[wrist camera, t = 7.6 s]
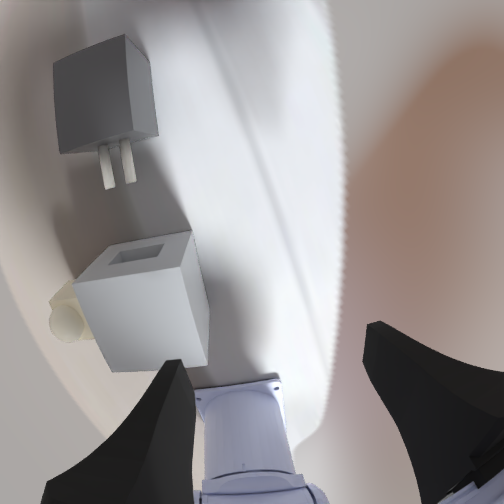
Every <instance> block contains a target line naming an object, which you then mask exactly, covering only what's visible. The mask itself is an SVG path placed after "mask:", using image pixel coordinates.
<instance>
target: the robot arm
mask: <svg viewBox="0 0 504 504" xmlns="http://www.w3.org/2000/svg"><path fill="white" fill-rule="evenodd" d="M362 362H363V364H364V367H365V369H366V372H367V374H368V376H369V378H370V381H371V383H372V384H373V386H374V388H375V390H376V391H377V393H378V395H379V396H380V398H381V400H382V401H383V403H384V405H385V406H386V408H387V409H388V411H389V413H390V415H391V416H392V418H393V419H394V421H395V423H396V425H397V427H398V429H399V432H400V434H401V436H402V439H403V441H404V443H405V446H406V449H407V451H408V454H409V457H410V460H411V462H412V466H413V469H414V473H415V476H416V479H417V484H418V488H419V492H420V497H421V503H422V504H504V372H499V371H493V370H489V369H484V368H481V367H477V366H473V365H470V364H467V363H464V362H461V361H458V360H455V359H453V358H450V357H448V356H446V355H443V354H441V353H439V352H437V351H435V350H432V349H431V348H429V347H427V346H425V345H423V344H421V343H419V342H417V341H416V340H414V339H412V338H410V337H409V336H407V335H405V334H403V333H401V332H400V331H398V330H396V329H395V328H393V327H391V326H389V325H388V324H385V323H384V322H382V321H377V322H374V323H370V324H367V329H366V338H365V347H364V354H363V361H362ZM196 406H197V408H198V411H199V413H200V415H201V417H202V419H203V422H204V424H205V430H204V464H205V480H202V492H201V490H194V491H193V483H192V458H193V445H194V434H195V422H196ZM41 504H329V501H328V499H327V497H326V495H325V493H324V492H323V491H322V490H321V489H320V488H318V487H317V486H316V485H314V484H312V483H307V484H305V481H304V477H303V474H296V473H295V468H294V464H293V460H292V456H291V452H290V448H289V444H288V439H287V435H286V422H285V412H284V402H283V393H282V383H281V380H280V379H270V380H265V381H259V382H253V383H246V384H240V385H232V386H225V387H217V388H208V389H198V390H193V388H192V385H191V383H190V380H189V378H188V375H187V372H186V370H185V367H184V365H183V362H182V359H174V360H166V361H165V362H164V364H163V365H162V367H161V368H160V370H159V372H158V373H157V375H156V376H155V378H154V380H153V381H152V383H151V384H150V386H149V387H148V389H147V390H146V392H145V393H144V395H143V396H142V398H141V399H140V401H139V402H138V403H137V405H136V406H135V407H134V409H133V410H132V411H131V413H130V414H129V415H128V417H127V418H126V419H125V420H124V421H123V423H122V424H121V425H120V426H119V427H118V428H117V429H116V431H115V432H114V433H113V434H112V435H111V436H110V437H109V438H108V439H107V440H106V441H105V442H104V443H102V444H101V445H100V446H99V447H98V448H97V449H96V450H94V451H93V452H92V453H91V454H90V455H89V456H87V457H86V458H85V459H83V460H82V461H81V462H79V463H78V464H76V465H75V466H73V467H72V468H70V469H69V470H67V471H65V472H64V473H62V474H60V475H58V476H56V477H55V478H53V479H51V480H49V481H47V483H46V486H45V490H44V493H43V496H42V500H41Z"/></svg>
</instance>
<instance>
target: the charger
mask: <svg viewBox="0 0 504 504" xmlns="http://www.w3.org/2000/svg"><path fill="white" fill-rule="evenodd" d="M53 77H54V102H55V116H56V127H57V136H58V144H59V151H60V154H69V153H81V152H95V151H98V153H99V159H100V165H101V171H102V176H103V181H104V186H105V189H109V188H113V187H115V182H114V177H113V171H112V166H111V160H110V154H109V149H110V148H113V147H116V146H120V152H121V158H122V164H123V170H124V175H125V181H126V184H129V183H133V182H137V180H136V174H135V169H134V163H133V157H132V151H131V145H130V143H131V142H135V141H139V140H143V139H147V138H151V137H155V136H159V134H158V127H157V120H156V112H155V104H154V96H153V88H152V78H151V68H150V62H149V61H148V60H147V59H146V58H145V57H144V55H143V54H142V53H141V52H140V51H139V50H138V48H137V47H136V46H135V45H134V44H133V43H132V42H131V40H130V39H129V38H128V37H127V36H126V35H125V34H124V35H121V36H118V37H115V38H112V39H109V40H106V41H104V42H101V43H98V44H96V45H93V46H91V47H88V48H86V49H83V50H81V51H79V52H76V53H74V54H72V55H69V56H67V57H65V58H63V59H61V60H59V61H57V62H55V63H53Z"/></svg>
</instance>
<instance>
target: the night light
mask: <svg viewBox="0 0 504 504" xmlns="http://www.w3.org/2000/svg"><path fill="white" fill-rule="evenodd" d="M74 281H75V280H71V281H68V282H67V283H66V284H65V285H64V286H63V287H62V288H61V289H60V290H59V291H58V292H57V293H56V294H55V295H54V296H53V297H52V298H51V299H50V301H49V303H50V306H51V308H52V310H53V311H52V312H51V315H50V318H49V326H50V330H51V332H52V334H53V335H54V336H55V337H56V338H57V339H58V340H60V341H62V342H65V343H71V342H74V341H76V340H93V339H95V338H94V336H93V334H92V332H91V329H90V327H89V325H88V323H87V321H86V318H85V316H84V314H83V311H82V309H81V307H80V304H79V302H78V299H77V297H76V294H75V292H74V289H73V286H72V283H73V282H74Z"/></svg>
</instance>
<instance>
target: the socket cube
mask: <svg viewBox="0 0 504 504" xmlns="http://www.w3.org/2000/svg"><path fill="white" fill-rule="evenodd" d="M72 286H73V289H74V292H75V294H76V297H77V299H78V302H79V304H80V307H81V309H82V311H83V314H84V316H85V318H86V321H87V323H88V325H89V327H90V329H91V332H92V334H93V336H94V338H95V340H96V342H97V344H98V346H99V348H100V350H101V352H102V354H103V356H104V358H105V360H106V362H107V364H108V366H109V368H110V369H111V371H112V372H136V371H154V370H160V368H161V367H162V365H163V364H164V362H165V361H166V360H174V359H182V362H183V365H184V367H185V368H189V367H199V366H207V365H208V343H209V318H210V308H209V304H208V299H207V295H206V291H205V287H204V282H203V278H202V273H201V269H200V264H199V260H198V255H197V250H196V245H195V241H194V236H193V231H192V230H191V231H185V232H179V233H174V234H168V235H162V236H157V237H152V238H146V239H141V240H136V241H130V242H125V243H120V244H115V245H110V246H109V247H108V248H107V249H106V250H105V251H104V252H103V253H101V254H100V255H99V256H98V257H97V258H96V259H95V260H94V261H93V262H92V263H91V264H90V265H89V266H88V267H87V268H86V269H85V271H84V272H83V273H82V274H81V275H80V276H79V277H78V278H77V279H76V280H75V281H74V282H73V283H72Z"/></svg>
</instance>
